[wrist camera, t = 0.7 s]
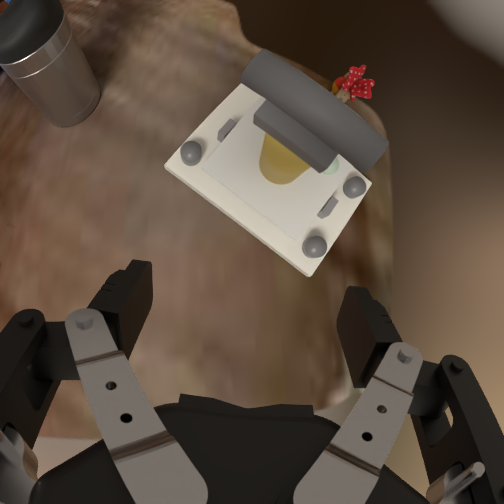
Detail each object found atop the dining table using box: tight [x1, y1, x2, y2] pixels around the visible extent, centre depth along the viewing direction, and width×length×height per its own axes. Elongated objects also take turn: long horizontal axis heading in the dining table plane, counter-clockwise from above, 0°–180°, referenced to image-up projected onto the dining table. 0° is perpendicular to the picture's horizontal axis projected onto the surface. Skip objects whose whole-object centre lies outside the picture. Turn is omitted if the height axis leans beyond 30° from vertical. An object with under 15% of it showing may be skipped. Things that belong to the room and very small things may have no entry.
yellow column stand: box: [202, 49, 389, 241], centre depth 27 cm, size 14×12×22 cm
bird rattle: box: [331, 65, 375, 103], centre depth 39 cm, size 6×11×9 cm
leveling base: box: [164, 83, 372, 277], centre depth 39 cm, size 23×16×4 cm
